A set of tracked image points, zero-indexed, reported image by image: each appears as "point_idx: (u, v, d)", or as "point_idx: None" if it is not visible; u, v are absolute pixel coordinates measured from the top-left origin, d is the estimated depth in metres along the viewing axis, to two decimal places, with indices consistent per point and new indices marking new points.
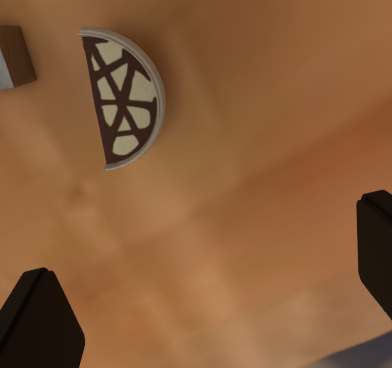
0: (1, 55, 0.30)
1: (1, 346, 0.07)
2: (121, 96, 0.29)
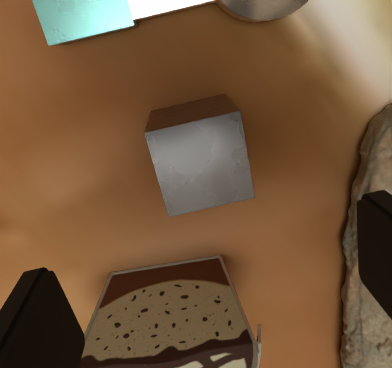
0: (214, 205, 0.20)
1: (1, 346, 0.07)
2: None
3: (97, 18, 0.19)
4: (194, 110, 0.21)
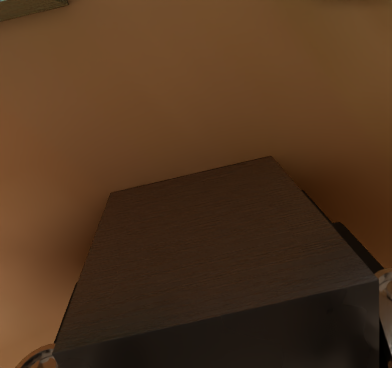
0: None
1: None
2: None
3: None
4: (210, 222, 0.08)
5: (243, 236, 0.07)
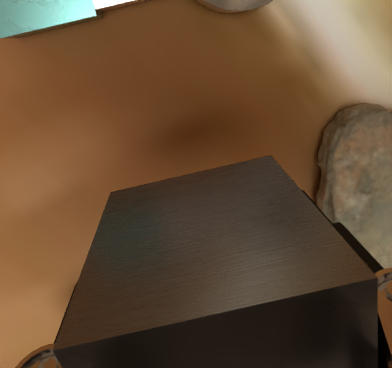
0: None
1: None
2: None
3: (55, 7, 0.17)
4: (210, 221, 0.08)
5: (242, 234, 0.07)
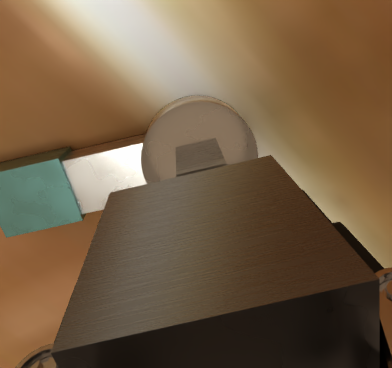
0: None
1: None
2: None
3: (49, 216, 0.21)
4: (210, 221, 0.08)
5: (243, 235, 0.07)
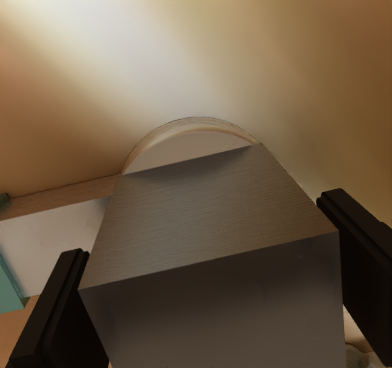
0: None
1: (52, 315, 0.08)
2: None
3: None
4: (206, 195, 0.09)
5: (233, 204, 0.08)
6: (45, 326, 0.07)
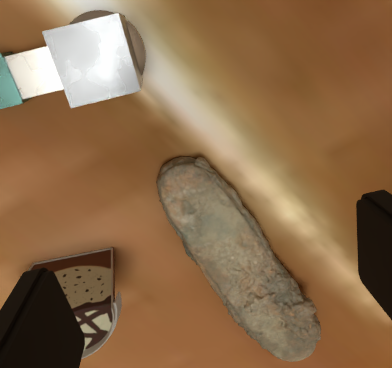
0: (107, 97, 0.25)
1: (1, 346, 0.07)
2: None
3: None
4: None
5: None
6: None
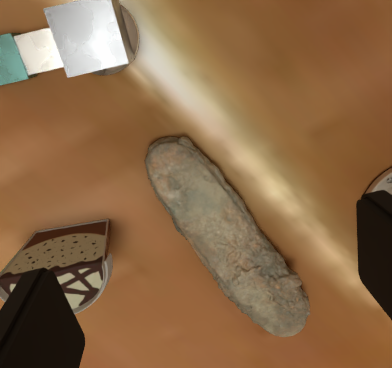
0: (99, 68, 0.28)
1: (1, 346, 0.07)
2: None
3: (6, 74, 0.34)
4: None
5: None
6: None
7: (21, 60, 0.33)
